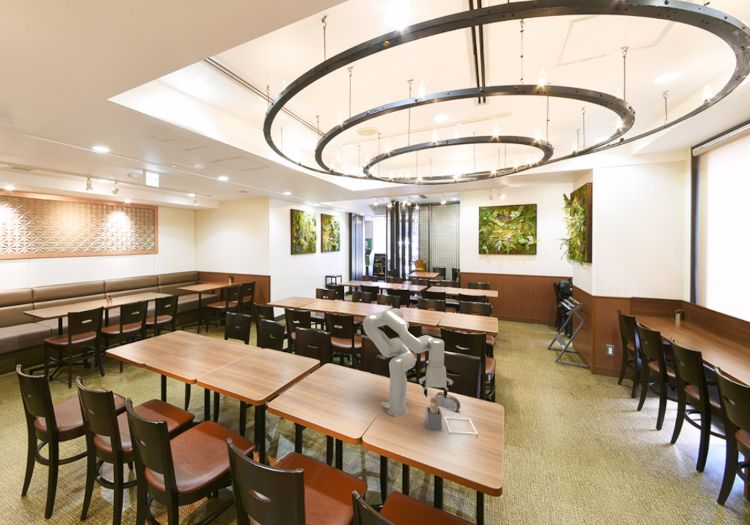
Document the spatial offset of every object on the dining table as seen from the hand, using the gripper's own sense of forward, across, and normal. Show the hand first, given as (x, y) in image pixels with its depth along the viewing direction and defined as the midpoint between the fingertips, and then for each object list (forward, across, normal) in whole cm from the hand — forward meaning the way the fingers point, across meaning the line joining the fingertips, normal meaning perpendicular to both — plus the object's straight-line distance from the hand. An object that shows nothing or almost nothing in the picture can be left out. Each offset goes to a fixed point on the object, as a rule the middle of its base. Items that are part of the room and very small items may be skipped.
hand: (435, 396), depth 147 cm
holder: (+17, -1, 0) cm, 17 cm away
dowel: (+16, -1, 0) cm, 16 cm away
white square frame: (+17, +13, +2) cm, 22 cm away
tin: (+17, +10, +20) cm, 28 cm away
